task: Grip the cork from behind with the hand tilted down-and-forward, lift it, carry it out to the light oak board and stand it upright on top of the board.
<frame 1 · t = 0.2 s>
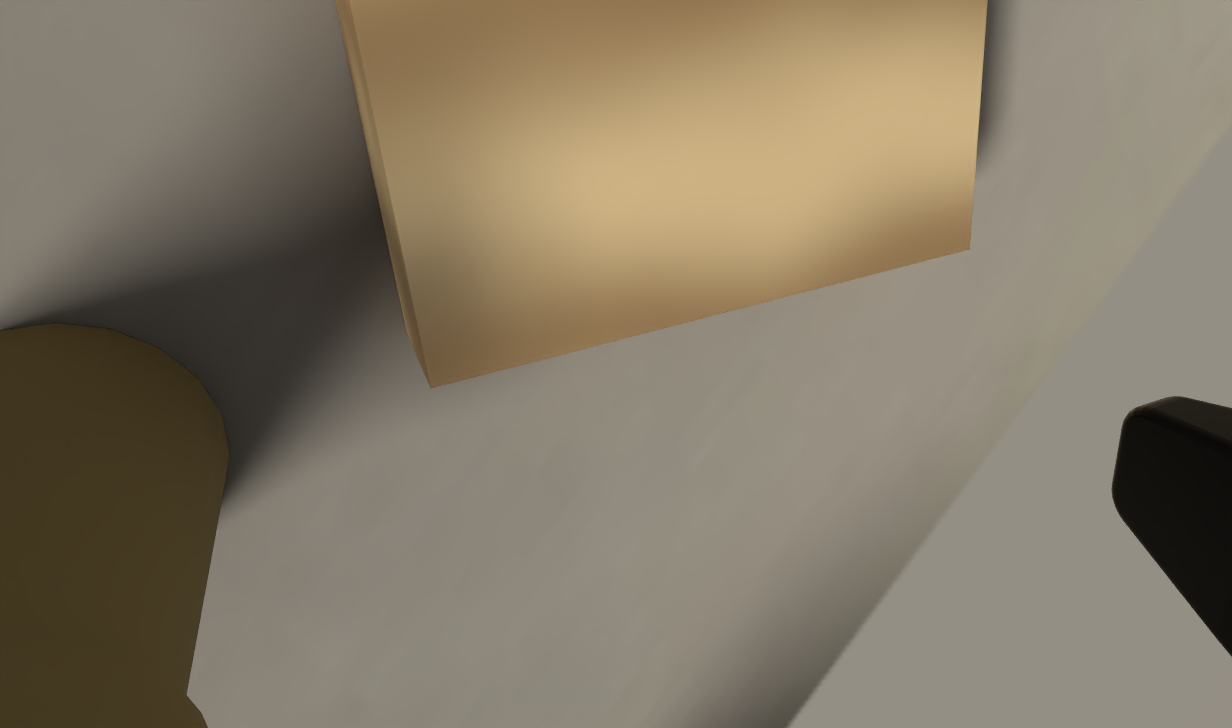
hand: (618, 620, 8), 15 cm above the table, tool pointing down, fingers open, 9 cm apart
cork: (68, 457, 22), on the table
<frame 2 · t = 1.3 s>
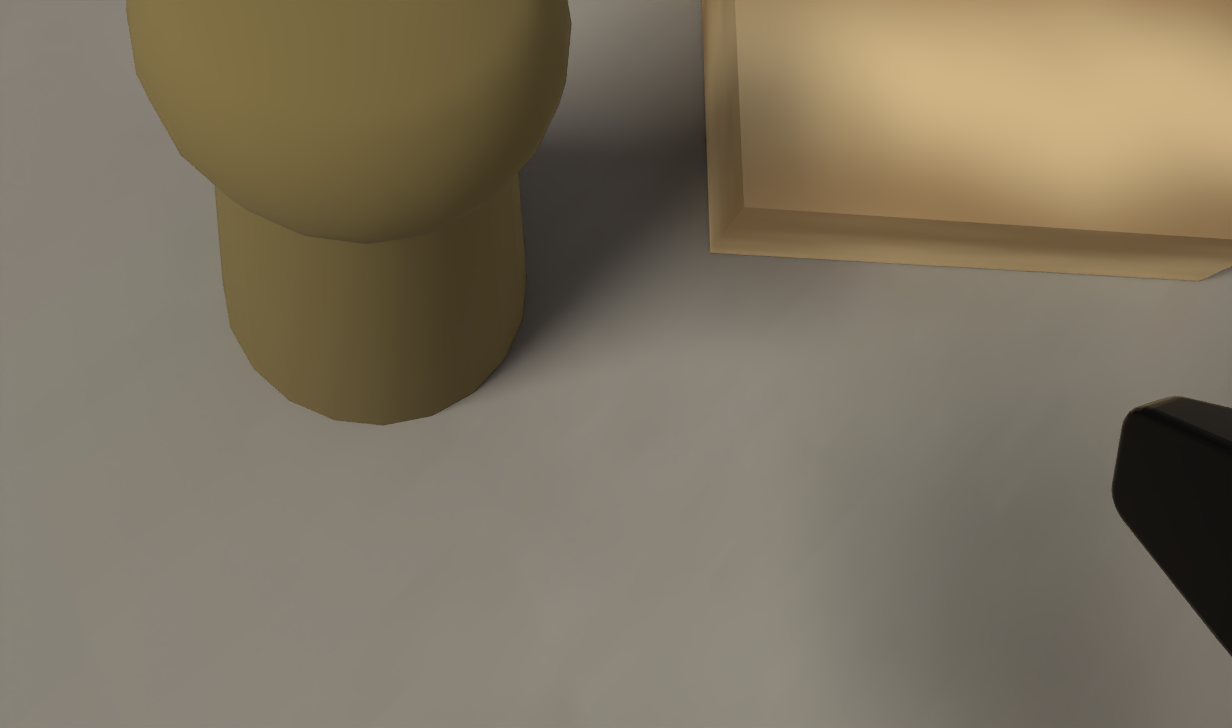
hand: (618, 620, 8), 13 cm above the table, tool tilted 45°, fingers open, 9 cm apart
cork: (379, 283, 22), on the table
oak board: (942, 33, 26), on the table
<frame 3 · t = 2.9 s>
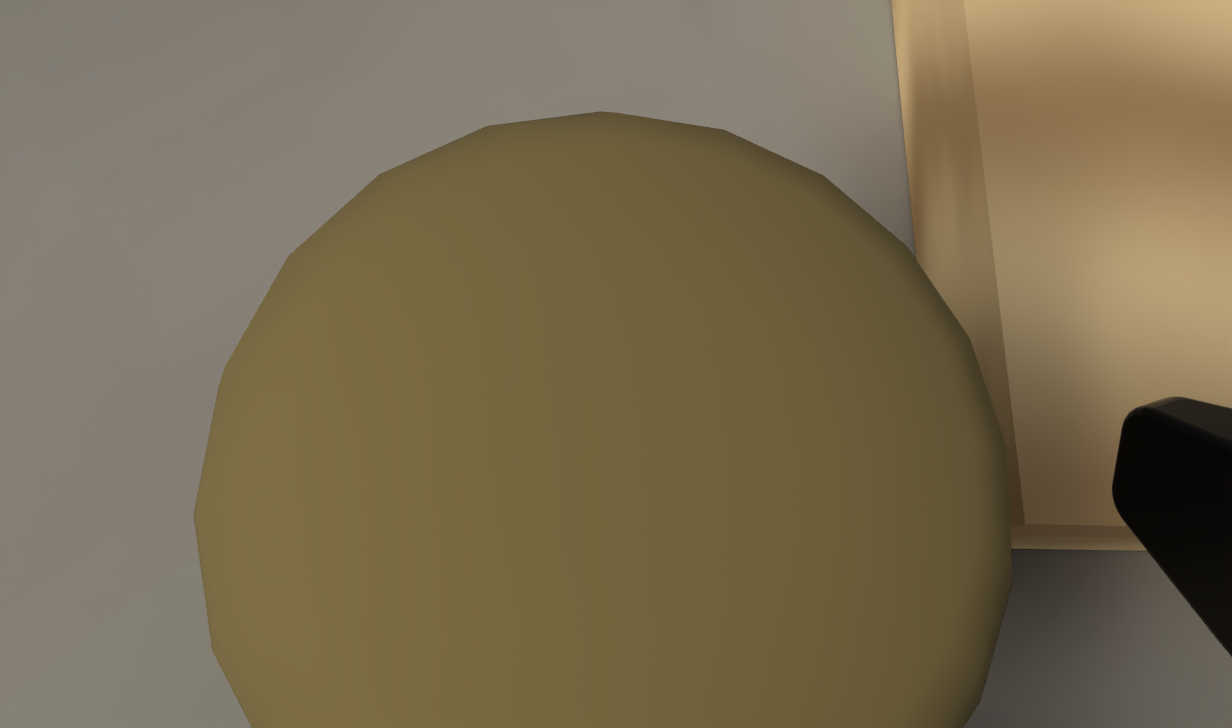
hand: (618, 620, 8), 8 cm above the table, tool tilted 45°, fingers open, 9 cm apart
cork: (504, 609, 16), on the table
oak board: (1213, 228, 20), on the table
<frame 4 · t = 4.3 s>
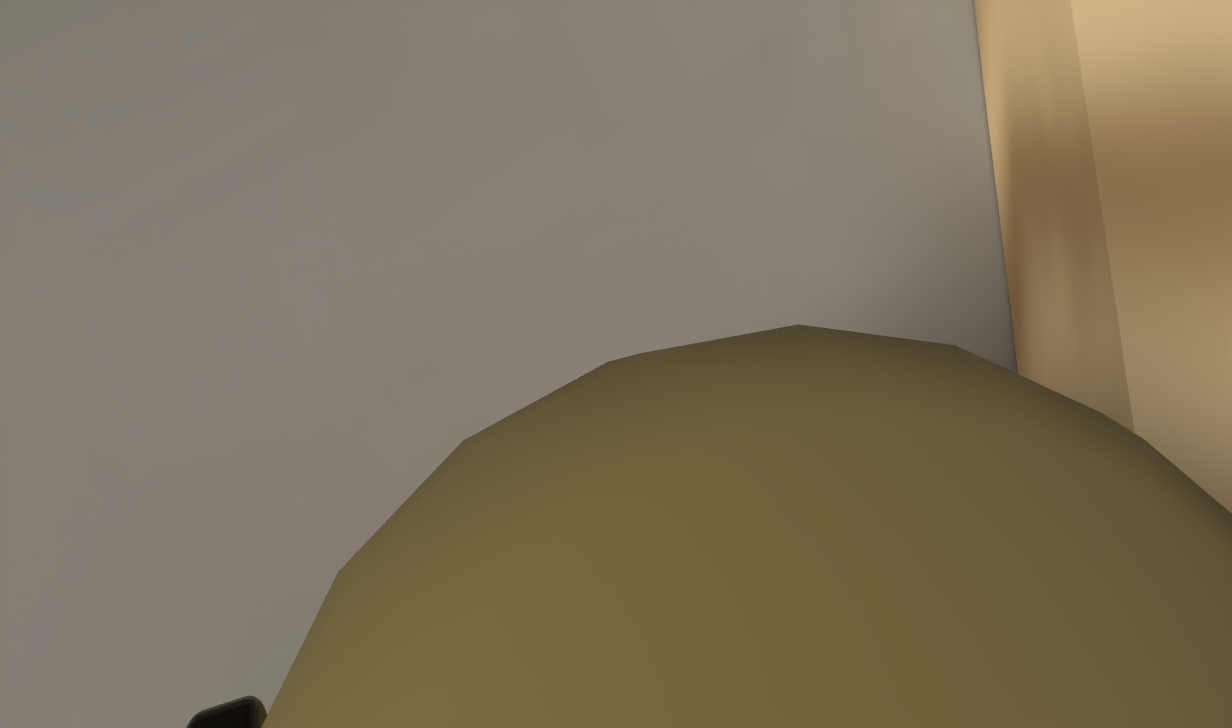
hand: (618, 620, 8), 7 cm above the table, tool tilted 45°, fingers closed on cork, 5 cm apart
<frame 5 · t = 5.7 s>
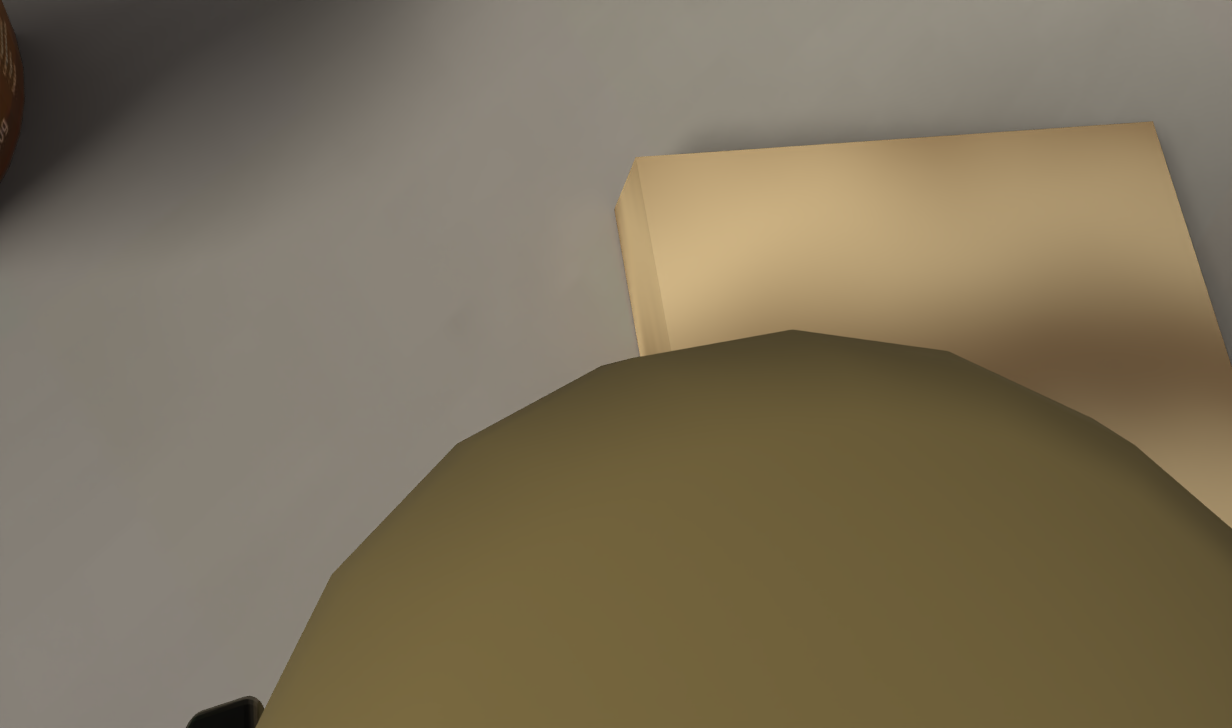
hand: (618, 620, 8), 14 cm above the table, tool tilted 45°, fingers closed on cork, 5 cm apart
oak board: (922, 437, 24), on the table
when the fingers open (10 cm above the table, at t = 7.6 s): cork stays where it is, resting on oak board.
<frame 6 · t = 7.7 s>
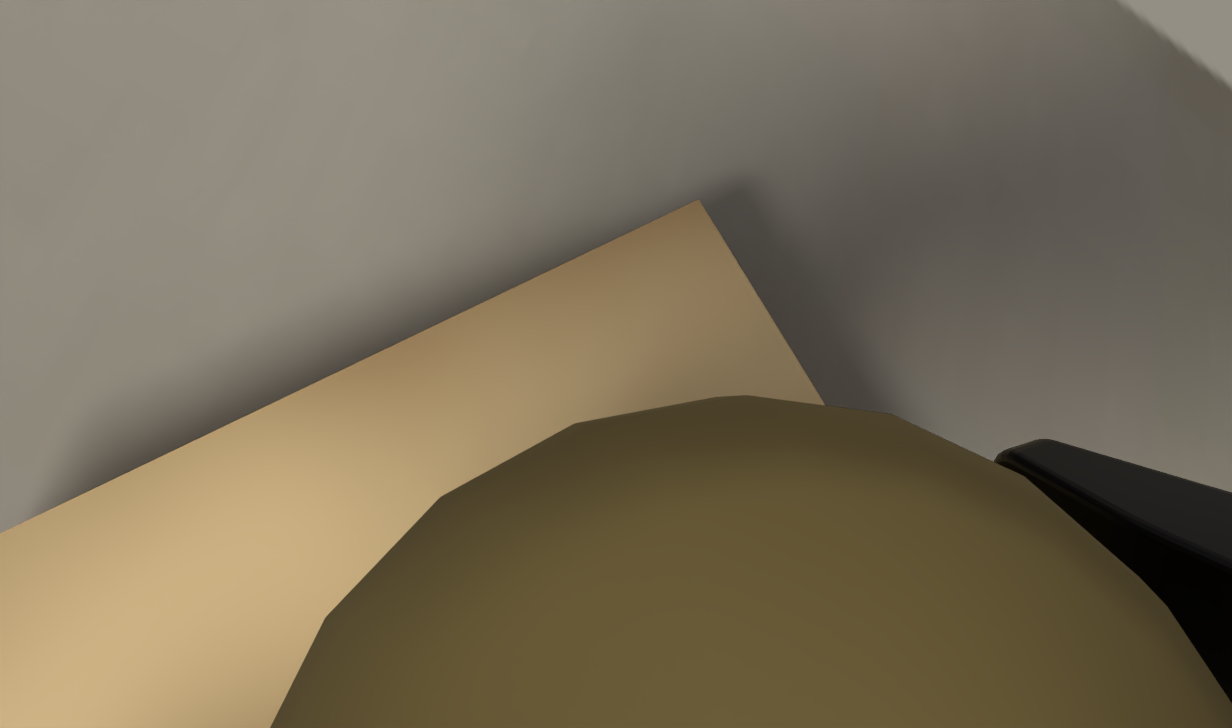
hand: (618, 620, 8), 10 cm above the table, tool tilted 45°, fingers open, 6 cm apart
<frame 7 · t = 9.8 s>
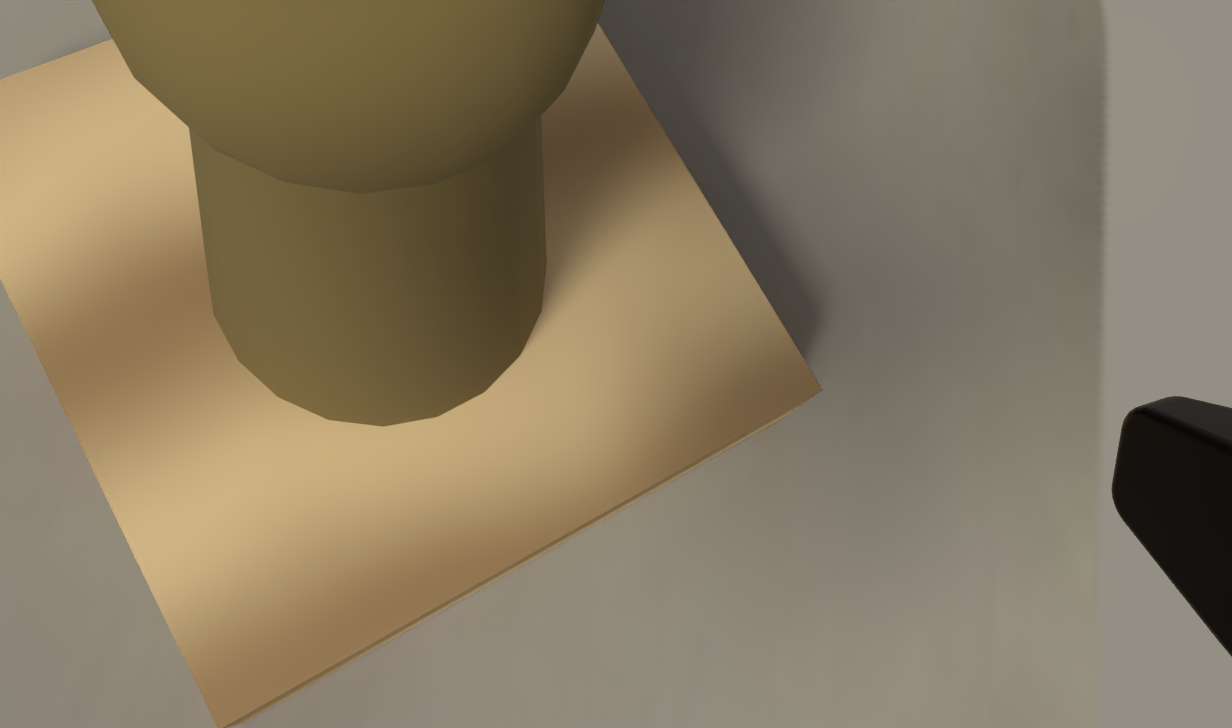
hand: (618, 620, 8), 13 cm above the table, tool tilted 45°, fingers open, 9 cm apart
cork: (381, 268, 20), point 2 cm above the table, touching oak board
oak board: (391, 300, 22), on the table
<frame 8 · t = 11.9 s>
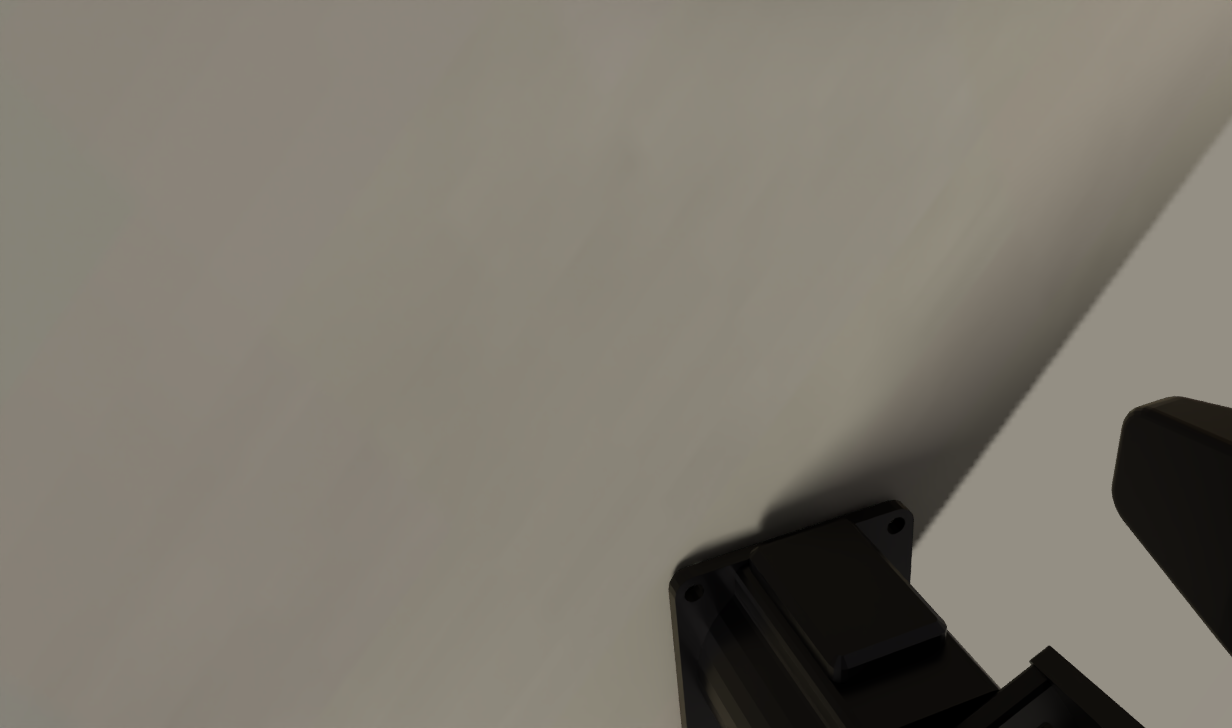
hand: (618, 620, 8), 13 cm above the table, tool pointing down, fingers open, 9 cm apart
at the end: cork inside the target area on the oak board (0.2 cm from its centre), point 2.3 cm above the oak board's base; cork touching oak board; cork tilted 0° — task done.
